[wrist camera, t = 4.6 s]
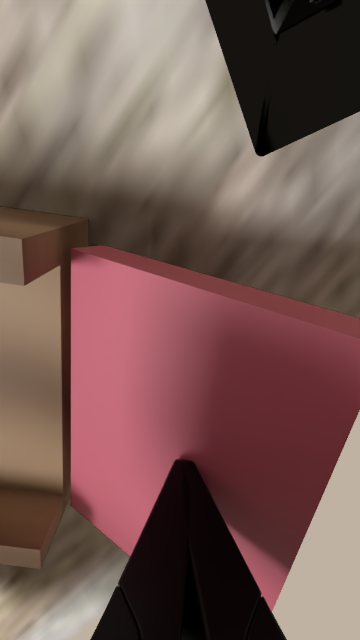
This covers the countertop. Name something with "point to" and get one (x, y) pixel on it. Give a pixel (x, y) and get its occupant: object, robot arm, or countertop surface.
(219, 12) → the black boxy piece
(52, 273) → the brown wooden drawer
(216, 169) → the countertop surface
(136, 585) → the robot arm
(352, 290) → the countertop surface
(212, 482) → the panel
